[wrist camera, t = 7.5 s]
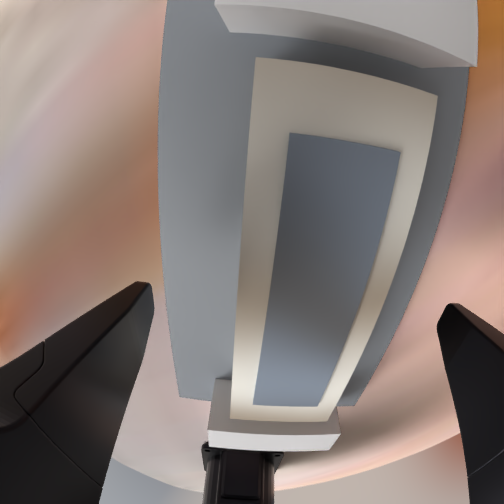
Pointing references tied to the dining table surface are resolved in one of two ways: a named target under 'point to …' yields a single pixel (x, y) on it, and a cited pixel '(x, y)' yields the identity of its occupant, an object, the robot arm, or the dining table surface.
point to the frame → (320, 230)
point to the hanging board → (235, 161)
